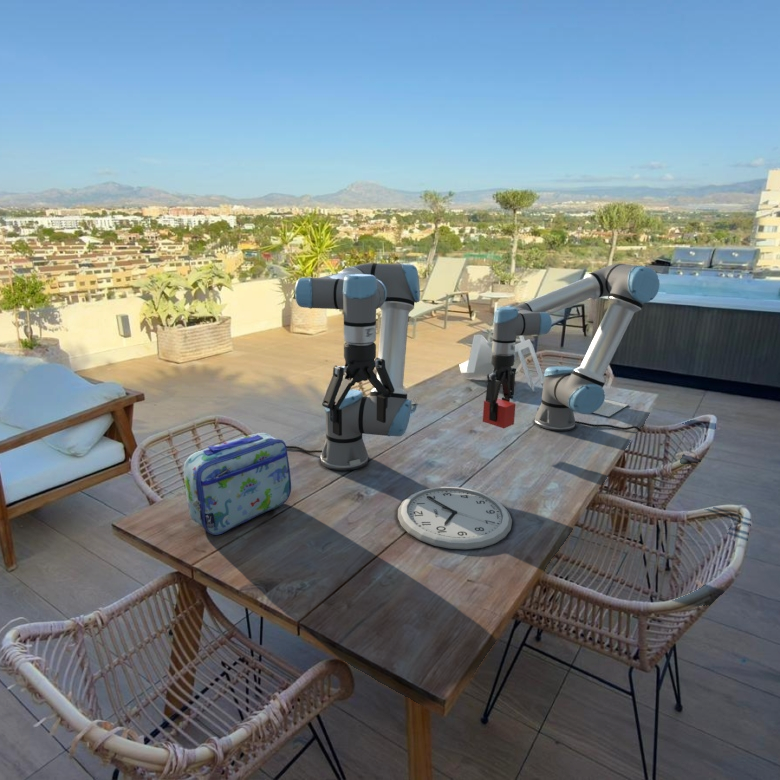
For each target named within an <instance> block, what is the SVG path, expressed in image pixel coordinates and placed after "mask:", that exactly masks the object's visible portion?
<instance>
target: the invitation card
mask: <svg viewBox="0 0 780 780" xmlns="http://www.w3.org/2000/svg"><path fill="white" fill-rule="evenodd" d="M628 406H629V404H627V403H623V402H618V401H614V400H609V399H604V402H603V404H602V405H601V407H600V408H599V409H598V410H596V411H595V412H592V413H593V414H596V415H600V416H604V417H608V418H609V417H611V416H613V415H614V414H616V413H617V412H619V411H621V410H623V409H624V408H626V407H628ZM592 413H591V414H592Z"/></svg>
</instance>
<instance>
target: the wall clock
mask: <svg viewBox="0 0 780 780" xmlns="http://www.w3.org/2000/svg"><path fill="white" fill-rule="evenodd" d="M397 519H398V523H399V524H400V526H401V527H402V528H403V530H404V531H406V533H407V534H409V535H410V536H412V537H414V538H415V539H417V540H419V541H421V542H423V543H426V544H428V545H432V546H435V547H440V548H445V549H448V550H474V549H480V548H481V549H482V548H486V547H488V546H492V545H496V543H499V542H500V541H502V540H503V539H505V538H506V537H507V536H508V534H509V533H510V532H511V529H512V525H513V519H512V516H511V513H510V512H509V510H508V509H507V508H506V507H505V506H504V504H502V503H501V502H499V501H498V500H496V499H495V498H494V497H493V496H489V495H488V494H485V493H483V492H480V491H477V490H474V489H470V488H464V487H458V486H440V487H439V486H437V487H431V488H426V489H422V490H419V491H417V492H415V493H412V494H410V495H409V496H407V498H405V499H404V500H402V502H401V504H400V505H399V507H398V509H397Z"/></svg>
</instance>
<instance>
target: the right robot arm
mask: <svg viewBox="0 0 780 780" xmlns="http://www.w3.org/2000/svg"><path fill="white" fill-rule="evenodd" d="M659 290H660V279H659V275H658V273H657V272H656V270H654V269H653V268H651V267H649V266H645V265H642V264H641V265H640V264H638V265H635V264H626V263H614V264H610V265H607V266H605V267H601V268H599V269H596V270H593V271H591V272H588V273H587V274H585V275H584V277H583V278H581V279H580V280H577V281H575V282H572V283H569V284H567V285H565V286H562V287H560V288H557V289H555V290H552V291H550V292H547V293H545V294H542V295H540V296H537V297H534V298H533V299H530V300H528V301H525V302H522V303H519V304H517V305H515V304H514V305H506V306H498V307H496V308H495V311H494V316H493V333H492V334H493V335H492V342H493V344H492V352H493V354H492V360H491V363H492V365H493V366H494V369H493V373H491V374H487V376H486V379H487V383H486V392H485V393H486V394H485V401H486V402H489V403H490V408H489V411H490V413H489V420H492V421H495V422H496V421H497V411H498V403H496V402H497V398H498V399H499V394H500V390H501V388H502V396H503V397H501V400H505V401H508V402H511V400H512V399H514V396H515V389H516V386H515V385H516V372H517V368H515V367H513V366H514V365H515V362H514V357H515V356H514V353H515V344H516V341H517V337H519V336H522V335H523V336H542V335H547V334H549V333H550V331H551V329H552V325H553V324H552V323H553V320H552V317H551V315H553V314H555V313H557V312H560V311H562V310H565V309H569V308H570V307H573V306H576V305H577V304H579V303H582V302H585V301H587V300H589V299H592V300H597V299H599V298H604V297H607V301H608V303H609V305H608V307H607V309H606V311H605V313H604V315H603V317H602V319H601V321H600V324H599V325H598V328H597V330H596V332H595V334H594V335H593V338H592V340H591V342H590V344H589V346H588V349H587V351H586V353H585V354H584V357H583V359H582V361H581V363H580V365H579V366H578V367H576V368H575V367H572V366H558V365H557V366H549V367H547V368H546V369H545V370H544V373H543V377H544V382H543V386H542V394H541V402H540V405H539V407H537V409H536V413H535V417H534V424H535V425H536V426H537V427H539V428H542V429H544V430H549V431H556V432H567V431H572V430H574V429H575V428H576V424H578V425H582V426H588V427H596V428H598V427H599V428H600V427H601V428H605V427H606V428H613V429H616V430H623V431H628V430H633V429H636V430H637V431H642V429H641V428H640V427H638V426H636V425H632V426H627V427H622V426H617V425H614V424H613V425H612V424H603V423H601V424H595V423H588V422H582V421H579V420H578V421H577V420H576V418H575V417H576V416H575V413H578V414H581V415H590V414H592V412H595V411H596V410H598V409H599V408H600V407H601V405H602V404H603V402H604V399H605V398H606V395H605V390H604V389H603V388H604V387H605V384H606V381H605V378H604V376H605V374H606V372H607V370H608V367H609V366H610V363H611V361H612V359H613V358H614V355H615V353H616V352H617V349H618V348H619V345H620V343H621V341H622V339H623V337H624V334H625V333H626V331H627V329H628V326H630V325H629V324H630V323H631V321H632V318H633V317H634V315H635V313H637V312H639V311H642V309H643V307H644V304H646V303H649V302H651V301H652V300H654V299H655V298H656V296H657V295H658V293H659ZM574 412H575V413H574Z"/></svg>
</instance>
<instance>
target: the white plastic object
mask: <svg viewBox="0 0 780 780" xmlns="http://www.w3.org/2000/svg"><path fill="white" fill-rule="evenodd" d="M518 337H519V340H520V342H518V343H515V353H514V356H515V357H514V363H515V362H516V361H518V360H520V363H521V366H522V367H521V368H522V369H523V373H524V376H525V380H526V382H527V385H528V387H529V388H530V389H531V391H532V392H533V393H535V386H534V383H533V380H532V376H531V374H530V371H529V368H528V364H527V361H526V358H525V356H526V355H531V358H532V360H533V364H534V367H535V370H536V373H537V376H538V379H539V382H540V384H541V386H542V387H543V382H544V373H543V371H542V369H541V365H540V362H539V359H538V356H537V353H536V350H535V348H534V343H532V341H531V339H530V338H528V339H525V335H522V336H518ZM471 343H472V344H471V348H470V353H469V357H468V360H466V361H464V362H462V363H460V364H458V366H459V370H460V374H461V375H462V377H463V378H464V379H473V378H474V379H475V378H482V377H483V378H484V377H487V374H491V373H493V369H494V366H493V365H492V363H491V360H492V354H493V352H492V344H493V341H488V340H487V338H485V336H484V335H483V334H473V339H472V342H471Z"/></svg>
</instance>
